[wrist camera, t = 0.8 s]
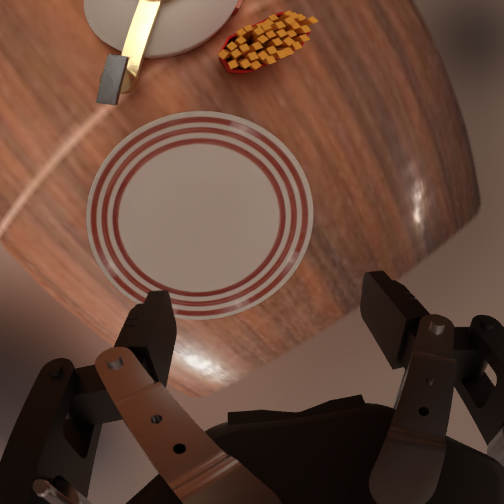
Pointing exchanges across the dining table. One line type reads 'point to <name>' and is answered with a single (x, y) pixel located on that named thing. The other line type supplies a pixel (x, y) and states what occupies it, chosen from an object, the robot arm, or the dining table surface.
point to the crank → (129, 55)
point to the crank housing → (161, 23)
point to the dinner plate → (200, 214)
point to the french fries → (265, 42)
